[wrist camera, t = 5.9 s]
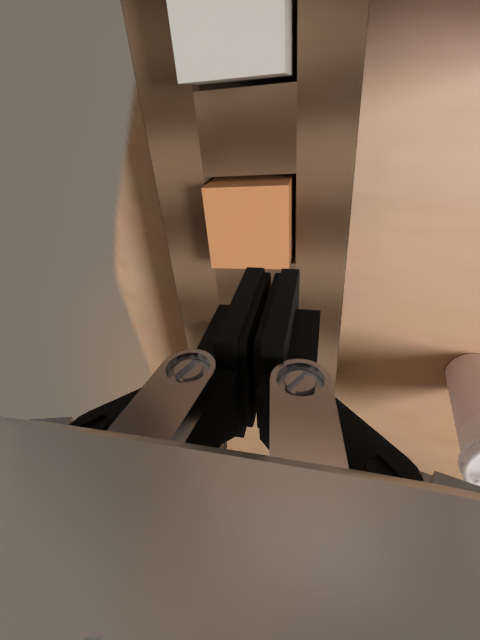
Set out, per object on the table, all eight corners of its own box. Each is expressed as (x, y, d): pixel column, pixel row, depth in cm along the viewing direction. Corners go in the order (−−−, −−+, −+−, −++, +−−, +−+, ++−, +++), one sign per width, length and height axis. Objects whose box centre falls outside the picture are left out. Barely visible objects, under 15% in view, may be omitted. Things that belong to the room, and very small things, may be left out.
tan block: (219, 173, 24) (201, 188, 20) (294, 170, 23) (288, 185, 19) (226, 244, 26) (211, 268, 23) (294, 244, 25) (288, 269, 22)
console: (134, -103, 18) (92, -144, 15) (377, -159, 16) (389, -223, 13) (209, 368, 36) (197, 396, 32) (332, 378, 33) (332, 410, 30)
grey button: (190, -38, 17) (156, -69, 14) (293, -56, 16) (283, -95, 13) (203, 84, 20) (177, 83, 17) (293, 76, 19) (285, 72, 15)
